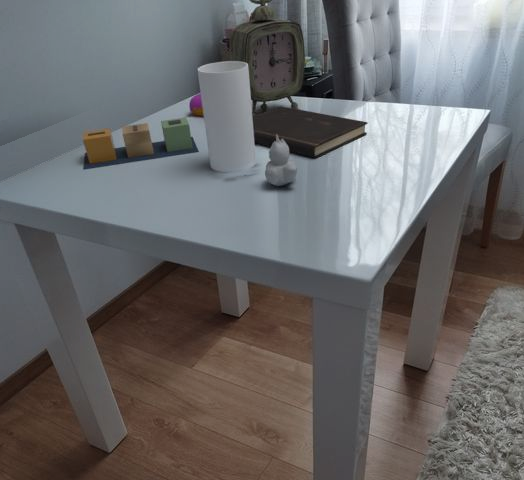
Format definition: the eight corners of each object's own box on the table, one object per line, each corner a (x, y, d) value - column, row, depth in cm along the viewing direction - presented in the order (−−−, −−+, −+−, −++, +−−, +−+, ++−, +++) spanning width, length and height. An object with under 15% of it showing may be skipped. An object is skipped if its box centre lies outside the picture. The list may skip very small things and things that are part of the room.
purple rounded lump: (214, 104, 124) (212, 84, 121) (243, 110, 119) (241, 89, 116) (182, 115, 119) (179, 94, 116) (211, 122, 113) (208, 100, 110)
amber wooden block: (89, 164, 96) (82, 139, 93) (90, 155, 100) (83, 131, 97) (116, 159, 97) (109, 135, 94) (115, 151, 101) (109, 127, 98)
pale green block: (167, 152, 98) (162, 127, 95) (165, 144, 102) (160, 120, 99) (192, 148, 99) (188, 123, 96) (189, 140, 103) (185, 116, 100)
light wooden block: (128, 158, 97) (122, 133, 94) (127, 150, 101) (121, 126, 98) (154, 154, 98) (148, 129, 95) (152, 146, 102) (147, 122, 99)
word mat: (83, 172, 95) (82, 169, 94) (85, 155, 102) (84, 152, 102) (199, 154, 98) (199, 151, 97) (192, 139, 105) (192, 136, 105)
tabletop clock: (249, 123, 110) (237, -17, 94) (231, 114, 117) (217, -19, 101) (305, 110, 115) (303, -26, 99) (285, 102, 121) (280, -27, 105)
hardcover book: (281, 117, 112) (280, 106, 111) (366, 134, 99) (367, 122, 98) (228, 137, 104) (227, 125, 103) (314, 159, 91) (314, 146, 90)
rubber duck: (282, 175, 86) (280, 126, 81) (308, 185, 82) (307, 134, 77) (257, 184, 84) (253, 134, 79) (283, 195, 80) (280, 143, 75)
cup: (255, 173, 88) (247, 70, 78) (208, 176, 88) (194, 74, 78) (256, 156, 94) (249, 59, 84) (213, 159, 95) (200, 63, 84)
